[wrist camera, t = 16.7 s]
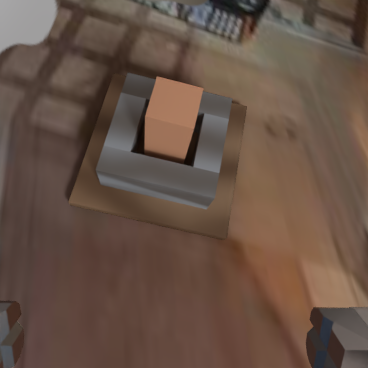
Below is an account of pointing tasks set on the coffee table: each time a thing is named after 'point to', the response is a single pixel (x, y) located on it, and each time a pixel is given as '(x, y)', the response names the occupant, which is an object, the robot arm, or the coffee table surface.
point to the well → (161, 163)
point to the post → (171, 119)
